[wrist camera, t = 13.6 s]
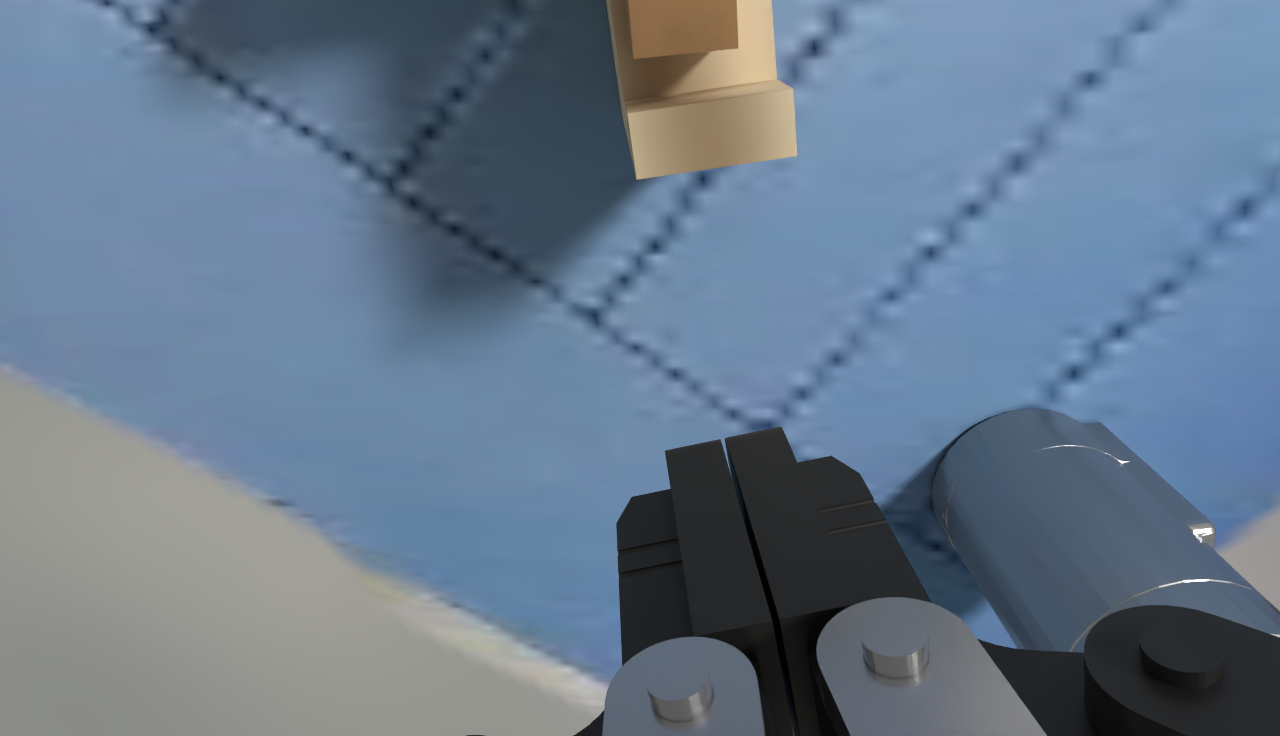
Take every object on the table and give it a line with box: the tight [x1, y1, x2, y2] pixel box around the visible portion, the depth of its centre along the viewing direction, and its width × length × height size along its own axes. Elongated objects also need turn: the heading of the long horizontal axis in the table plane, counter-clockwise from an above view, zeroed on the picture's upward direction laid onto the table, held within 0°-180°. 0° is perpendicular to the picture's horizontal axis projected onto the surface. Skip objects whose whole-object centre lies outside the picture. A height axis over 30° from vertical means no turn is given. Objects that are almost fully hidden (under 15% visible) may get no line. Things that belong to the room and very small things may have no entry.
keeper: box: [606, 0, 797, 180], centre depth 32 cm, size 5×6×13 cm
